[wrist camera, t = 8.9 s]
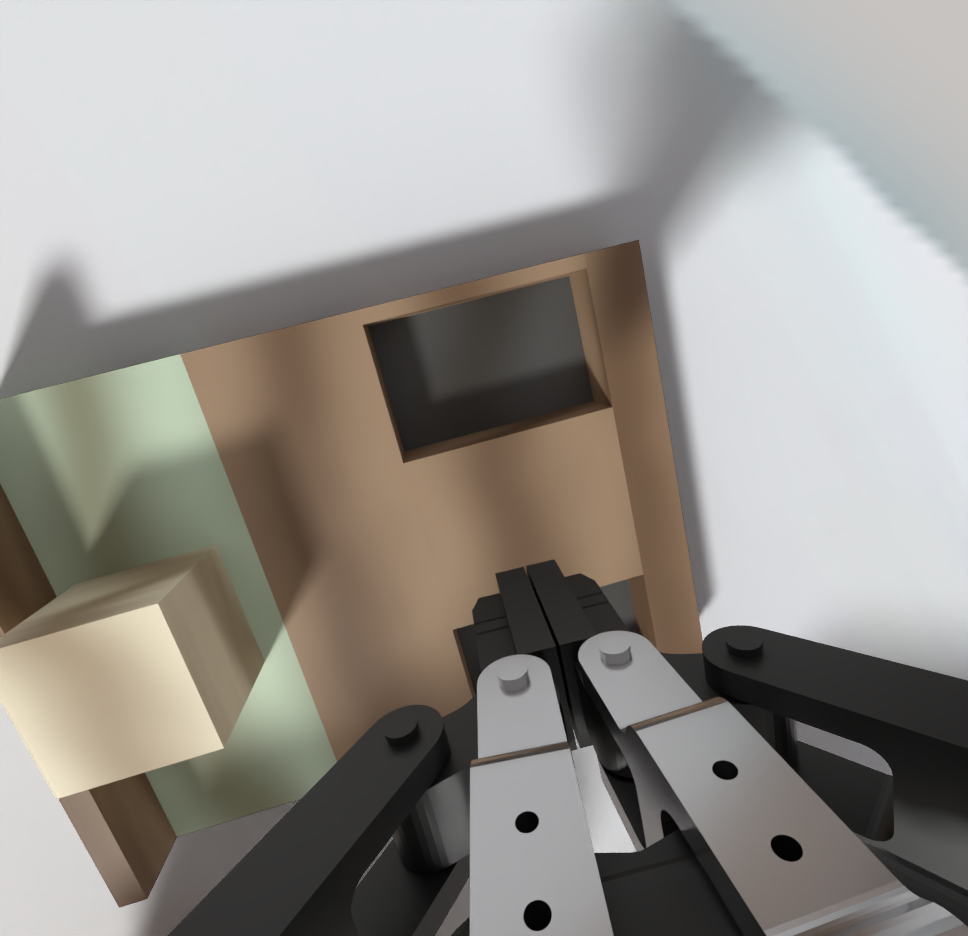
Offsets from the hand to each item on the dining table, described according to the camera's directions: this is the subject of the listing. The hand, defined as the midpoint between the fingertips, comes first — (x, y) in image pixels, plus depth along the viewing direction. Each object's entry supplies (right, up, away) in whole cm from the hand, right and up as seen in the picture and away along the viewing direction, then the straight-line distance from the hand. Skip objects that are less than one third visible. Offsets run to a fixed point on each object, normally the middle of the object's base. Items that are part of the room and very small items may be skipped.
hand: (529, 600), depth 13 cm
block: (-13, -3, +7) cm, 14 cm away
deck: (-5, 0, +10) cm, 11 cm away
